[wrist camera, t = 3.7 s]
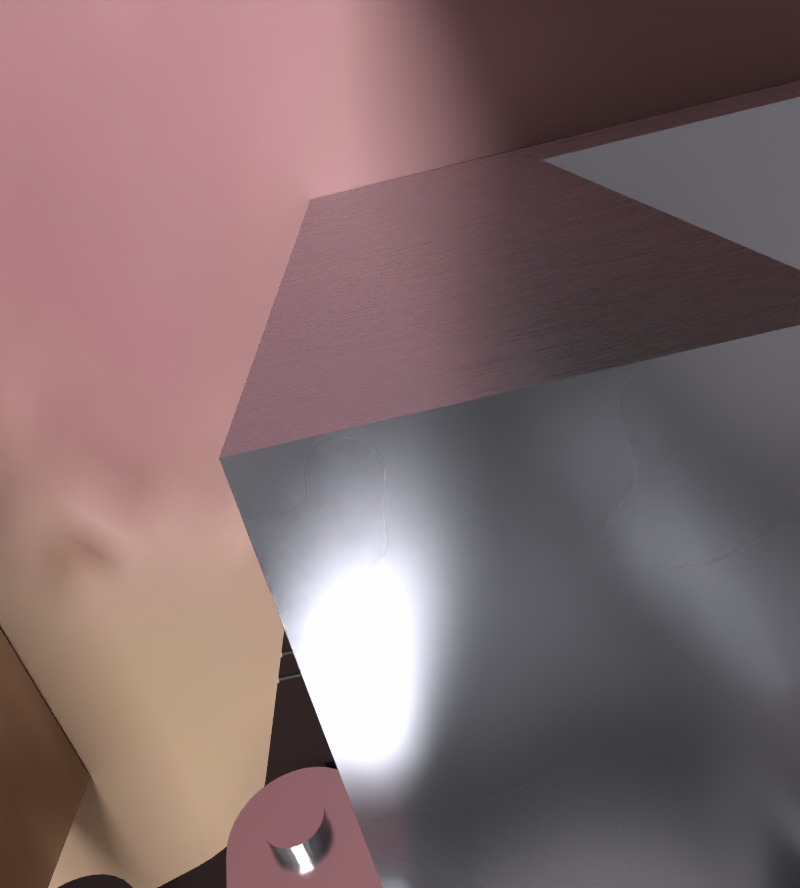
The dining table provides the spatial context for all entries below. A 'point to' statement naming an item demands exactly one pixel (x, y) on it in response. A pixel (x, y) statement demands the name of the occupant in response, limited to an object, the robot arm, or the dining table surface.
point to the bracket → (549, 503)
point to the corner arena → (32, 780)
